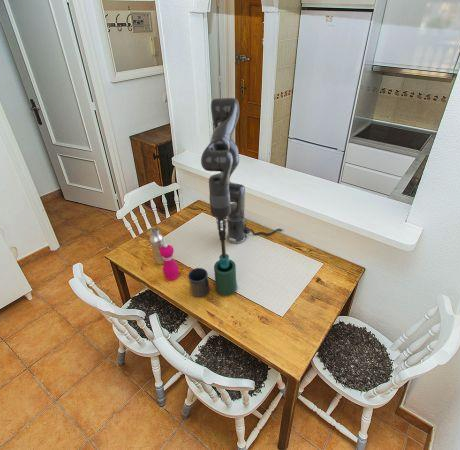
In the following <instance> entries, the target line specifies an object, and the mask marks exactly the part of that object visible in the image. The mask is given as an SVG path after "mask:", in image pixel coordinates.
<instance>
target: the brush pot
mask: <svg viewBox="0 0 460 450" xmlns="http://www.w3.org/2000/svg"><path fill="white" fill-rule="evenodd" d="M187 277H188V284H189V290H190V293H191V294H190V295H192V296H193V297H194V298H204V297H206V296H207V295H208V294H209V292H210V282H209V281H210V280H209V274H208V271H207V270H206V269H205V268H204V267H203V268H202V267H195V268H193V269H191V270H190V271H189V272H188V274H187Z"/></svg>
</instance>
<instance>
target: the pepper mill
mask: <svg viewBox="0 0 460 450" xmlns="http://www.w3.org/2000/svg"><path fill="white" fill-rule="evenodd" d="M174 252H175V251H174V247H173V246H172V245H170V244H167V243H164V246H162V247H161V248H160V254H161V256H162V258H163V260H164V264H163V265H162V273H163V275H164V277H165V279H166V280H167V281H172V282H173V281H175V280H177V279H178V278H179V277H180V276H179V275H180V274H179V265H178V264H177V262H175V260H174V256H175V255H174Z"/></svg>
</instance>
